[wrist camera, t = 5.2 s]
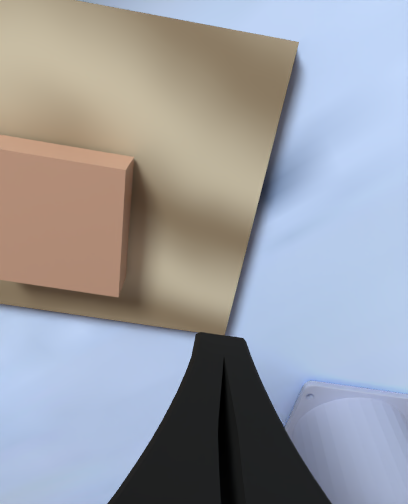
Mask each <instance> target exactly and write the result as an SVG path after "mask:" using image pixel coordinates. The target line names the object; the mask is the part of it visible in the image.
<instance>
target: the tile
mask: <svg viewBox="0 0 408 504" xmlns="http://www.w3.org/2000/svg"><path fill="white" fill-rule="evenodd" d="M133 166H134V157H131V156H125V155H119V154H113V153H107V152H101V151H95V150H89V149H83V148H77V147H71V146H65V145H59V144H53V143H47V142H41V141H35V140H29V139H24V138H18V137H12V136H6V135H0V280H5V281H11V282H18V283H25V284H32V285H38V286H45V287H52V288H58V289H65V290H72V291H79V292H85V293H92V294H99V295H105V296H112V297H119V295H120V292H121V290H122V287H123V284H124V281H125V279H126V271H127V256H128V241H129V226H130V211H131V196H132V181H133Z"/></svg>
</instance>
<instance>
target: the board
mask: <svg viewBox="0 0 408 504" xmlns="http://www.w3.org/2000/svg"><path fill="white" fill-rule="evenodd" d="M298 44H299V42H296V41H290V40H285V39H280V38H274V37H269V36H264V35H258V34H253V33H248V32H242V31H237V30H232V29H226V28H221V27H216V26H210V25H205V24H199V23H194V22H189V21H183V20H178V19H173V18H167V17H162V16H157V15H151V14H146V13H141V12H135V11H130V10H125V9H119V8H114V7H109V6H103V5H98V4H93V3H87V2H82V1H77V0H0V135H6V136H12V137H18V138H24V139H29V140H35V141H41V142H47V143H53V144H59V145H65V146H71V147H77V148H83V149H89V150H95V151H101V152H107V153H113V154H119V155H125V156H131V157H134V166H133V181H132V196H131V211H130V226H129V241H128V256H127V271H126V279H125V281H124V284H123V287H122V290H121V292H120V295H119V297H112V296H105V295H99V294H92V293H85V292H79V291H72V290H65V289H58V288H52V287H45V286H38V285H32V284H25V283H18V282H11V281H5V280H0V304H6V305H13V306H20V307H27V308H34V309H41V310H48V311H55V312H61V313H68V314H75V315H82V316H89V317H96V318H103V319H110V320H116V321H123V322H130V323H137V324H144V325H151V326H158V327H164V328H171V329H178V330H185V331H192V332H205V333H212V334H218V335H225V332H226V328H227V324H228V320H229V316H230V312H231V308H232V304H233V300H234V296H235V292H236V288H237V284H238V280H239V276H240V272H241V268H242V265H243V261H244V257H245V253H246V249H247V245H248V241H249V237H250V233H251V229H252V225H253V221H254V217H255V213H256V209H257V205H258V201H259V198H260V194H261V190H262V186H263V182H264V178H265V174H266V170H267V166H268V162H269V158H270V154H271V150H272V146H273V142H274V138H275V134H276V131H277V127H278V123H279V119H280V115H281V111H282V107H283V103H284V99H285V95H286V91H287V87H288V83H289V79H290V75H291V71H292V67H293V64H294V60H295V56H296V52H297V48H298Z"/></svg>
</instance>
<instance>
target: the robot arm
mask: <svg viewBox="0 0 408 504" xmlns="http://www.w3.org/2000/svg"><path fill="white" fill-rule="evenodd" d="M108 504H408V394H403V393H396V392H389V391H382V390H375V389H368V388H361V387H354V386H346V385H339V384H332V383H325V382H318V381H308V382H306V383H305V384H304V385H303V387H302V389H301V392H300V394H299V396H298V399H297V401H296V403H295V405H294V408H293V410H292V412H291V415H290V417H289V419H288V421H287V424H286V426H285V428H284V426H283V424H282V423H281V421H280V419H279V417H278V415H277V413H276V411H275V409H274V407H273V405H272V403H271V401H270V399H269V397H268V394H267V392H266V390H265V388H264V386H263V384H262V382H261V379H260V377H259V375H258V372H257V370H256V367H255V365H254V362H253V360H252V357H251V355H250V352H249V349H248V346H247V343H246V341H245V340H244V339H243V338H238V337H232V336H225V335H218V334H212V333H205V332H199V333H198V334H196V336H195V341H194V346H193V351H192V356H191V359H190V362H189V365H188V368H187V370H186V373H185V375H184V377H183V379H182V382H181V384H180V386H179V389H178V391H177V393H176V395H175V397H174V399H173V401H172V403H171V405H170V407H169V409H168V410H167V412H166V414H165V416H164V418H163V420H162V422H161V424H160V425H159V427H158V429H157V431H156V432H155V434H154V436H153V437H152V439H151V441H150V442H149V444H148V445H147V447H146V449H145V450H144V452H143V453H142V455H141V456H140V458H139V459H138V461H137V462H136V464H135V465H134V467H133V468H132V470H131V471H130V473H129V474H128V476H127V477H126V479H125V480H124V482H123V483H122V485H121V486H120V487H119V489H118V490H117V492H116V493H115V494H114V496H113V497H112V498H111V500H110V501H109V502H108Z"/></svg>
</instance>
